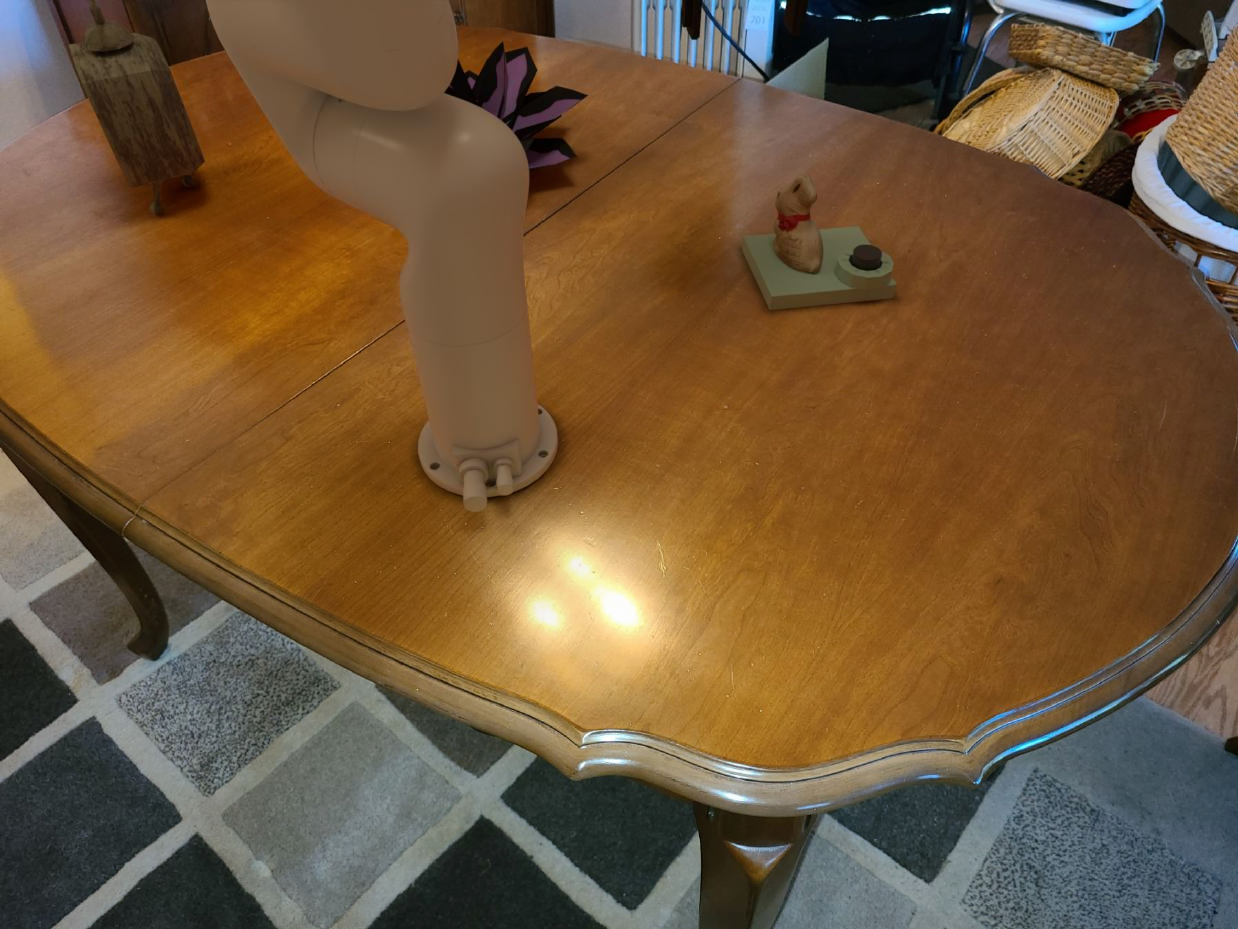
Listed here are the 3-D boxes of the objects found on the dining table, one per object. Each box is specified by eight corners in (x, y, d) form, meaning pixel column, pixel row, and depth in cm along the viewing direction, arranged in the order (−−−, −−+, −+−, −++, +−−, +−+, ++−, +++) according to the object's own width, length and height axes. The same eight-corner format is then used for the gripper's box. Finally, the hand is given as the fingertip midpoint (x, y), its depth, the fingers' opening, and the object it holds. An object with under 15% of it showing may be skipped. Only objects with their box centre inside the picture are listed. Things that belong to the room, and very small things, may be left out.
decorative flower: (620, 197, 108) (616, 82, 96) (373, 255, 102) (336, 142, 90) (549, 81, 127) (538, -26, 115) (338, 125, 121) (304, 18, 109)
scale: (894, 301, 92) (902, 274, 89) (770, 313, 90) (775, 286, 88) (855, 239, 100) (861, 213, 98) (741, 249, 99) (744, 223, 96)
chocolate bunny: (817, 236, 97) (832, 153, 90) (823, 274, 92) (841, 190, 85) (769, 234, 98) (781, 152, 90) (773, 273, 92) (786, 189, 85)
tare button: (883, 270, 90) (886, 258, 89) (856, 273, 90) (859, 260, 89) (873, 255, 92) (876, 243, 91) (847, 257, 92) (849, 245, 91)
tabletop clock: (129, 175, 111) (33, -36, 93) (200, 158, 114) (120, -48, 96) (147, 225, 103) (45, 5, 85) (223, 206, 106) (140, -11, 88)
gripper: (668, -182, 64) (659, 51, 77) (884, -186, 66) (841, 42, 78) (652, -199, 70) (646, 22, 82) (853, -203, 71) (818, 14, 84)
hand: (742, 32), depth 80 cm, fingers open, 9 cm apart
